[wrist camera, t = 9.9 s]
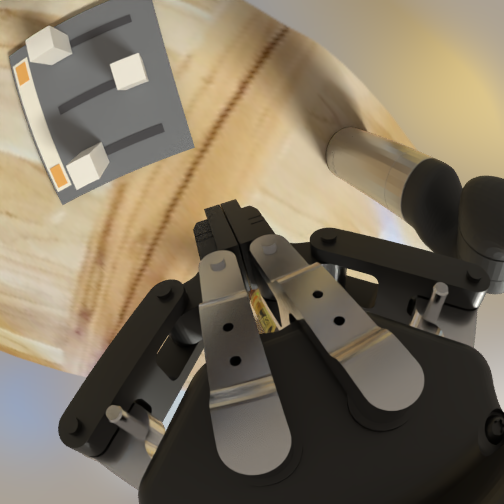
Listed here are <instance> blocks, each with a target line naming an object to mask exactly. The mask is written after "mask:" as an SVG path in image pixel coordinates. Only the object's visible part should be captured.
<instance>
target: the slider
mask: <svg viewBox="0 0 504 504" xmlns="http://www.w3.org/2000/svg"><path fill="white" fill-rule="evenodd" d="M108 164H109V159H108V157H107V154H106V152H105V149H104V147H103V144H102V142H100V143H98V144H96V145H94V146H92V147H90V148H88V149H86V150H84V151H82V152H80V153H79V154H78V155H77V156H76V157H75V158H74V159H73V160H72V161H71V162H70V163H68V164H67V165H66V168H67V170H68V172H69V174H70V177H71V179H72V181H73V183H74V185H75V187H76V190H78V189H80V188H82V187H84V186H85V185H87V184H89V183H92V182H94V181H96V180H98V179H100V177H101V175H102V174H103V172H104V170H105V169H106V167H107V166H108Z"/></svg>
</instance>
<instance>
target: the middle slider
mask: <svg viewBox="0 0 504 504" xmlns="http://www.w3.org/2000/svg"><path fill="white" fill-rule="evenodd" d="M110 67H111V70H112V74H113V77H114V80H115V84H116V87H117V90H128V89H130V88H132V87H135V86H138V85H140V84H143V83H145V82H148V81H149V80H148V77H147V74H146V70H145V67H144V64H143V60H142V58H141V56H140V54H139V53H137V54H134V55H131V56H129V57H126V58H124V59H121V60H119V61H116V62H114V63H112V64H110Z"/></svg>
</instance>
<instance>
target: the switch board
mask: <svg viewBox="0 0 504 504" xmlns="http://www.w3.org/2000/svg"><path fill="white" fill-rule="evenodd" d="M53 28H55V29H57V30H59V31H61V32H63V33H65V34H66V35H68V38H69V42H70V46H71V50H72V54H71V55H69V56H67V57H66V58H64V59H62V60H60V61H58V62H57V63H55V64H53V65H48V64H41V63H34V62H30V59H29V55H28V51H27V46H26V45H25V46H23V47H22V48H20V49H19V50H17V51H16V52H15V53H13V54H12V55H10V56H9V59H10V64H11V68H12V73H13V77H14V81H15V84H16V88H17V92H18V95H19V99H20V102H21V105H22V108H23V111H24V114H25V117H26V120H27V123H28V126H29V129H30V132H31V134H32V137H33V140H34V142H35V145H36V147H37V150H38V152H39V155H40V157H41V160H42V162H43V164H44V167H45V169H46V171H47V173H48V176H49V178H50V180H51V182H52V184H53V186H54V189H55V191H56V193H57V195H58V197H59V199H60V201H61V203H62V205H64V204H66V203H67V202H69V201H71V200H73V199H75V198H77V197H79V196H81V195H83V194H85V193H87V192H89V191H91V190H93V189H95V188H97V187H99V186H101V185H103V184H105V183H108V182H110V181H112V180H114V179H116V178H119V177H121V176H123V175H125V174H128V173H130V172H132V171H135V170H137V169H139V168H142V167H144V166H147V165H149V164H152V163H154V162H157V161H159V160H162V159H164V158H167V157H170V156H172V155H175V154H178V153H181V152H183V151H186V150H189V149H192V148H195V147H194V144H193V140H192V137H191V134H190V131H189V127H188V124H187V121H186V118H185V114H184V111H183V108H182V104H181V101H180V98H179V94H178V91H177V88H176V84H175V81H174V77H173V74H172V70H171V67H170V63H169V60H168V56H167V53H166V49H165V46H164V42H163V39H162V35H161V32H160V28H159V24H158V21H157V17H156V13H155V9H154V6H153V2H152V0H110V1H107V2H105V3H102V4H100V5H97V6H95V7H93V8H91V9H88V10H86V11H84V12H82V13H80V14H78V15H76V16H74V17H72V18H70V19H68V20H66V21H64V22H62V23H61V24H59V25H57V26H55V27H53ZM137 53H139V54H140V56H141V58H142V60H143V64H144V67H145V70H146V74H147V77H148V80H149V81H148V82H145V83H143V84H140V85H138V86H135V87H132V88H130V89H128V90H117V87H116V84H115V80H114V77H113V74H112V70H111V67H110V64H112V63H114V62H116V61H119V60H121V59H124V58H126V57H129V56H131V55H134V54H137ZM100 142H102V144H103V147H104V149H105V152H106V154H107V157H108V159H109V164H108V166H107V167H106V169H105V170H104V172H103V174H102V175H101V177H100V179H98V180H96V181H94V182H92V183H89V184H87V185H85V186H84V187H82V188H80V189H78V190H76V187H75V185H74V183H73V181H72V179H71V177H70V174H69V172H68V170H67V168H66V165H67V164H68V163H70V162H71V161H72V160H73V159H74V158H75V157H76V156H77V155H78V154H79V153H80V152H82V151H84V150H86V149H88V148H90V147H92V146H94V145H96V144H98V143H100Z"/></svg>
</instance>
